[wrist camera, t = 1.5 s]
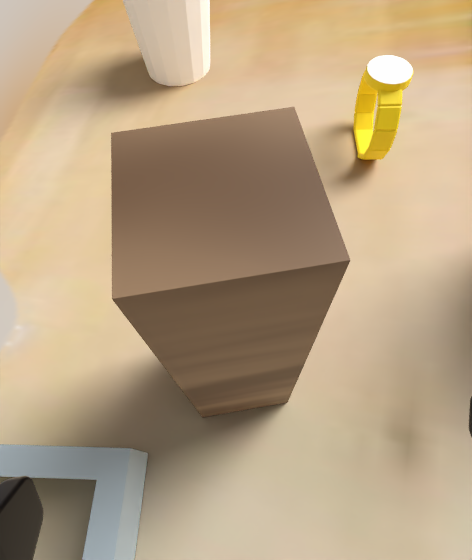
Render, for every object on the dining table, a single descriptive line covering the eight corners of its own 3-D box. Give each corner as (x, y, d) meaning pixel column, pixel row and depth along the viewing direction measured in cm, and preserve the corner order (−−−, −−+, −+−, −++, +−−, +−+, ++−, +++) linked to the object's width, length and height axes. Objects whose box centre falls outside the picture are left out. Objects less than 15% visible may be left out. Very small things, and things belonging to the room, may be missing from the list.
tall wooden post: (287, 402, 19) (350, 260, 7) (202, 417, 19) (111, 298, 7) (269, 323, 21) (294, 106, 9) (193, 336, 21) (111, 132, 9)
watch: (388, 175, 27) (423, 105, 21) (349, 175, 27) (373, 106, 21) (377, 114, 29) (406, 37, 24) (341, 114, 29) (361, 38, 24)
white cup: (225, 48, 34) (219, -47, 28) (205, 95, 31) (194, 0, 25) (155, 41, 35) (134, -52, 29) (129, 86, 32) (100, -8, 26)
